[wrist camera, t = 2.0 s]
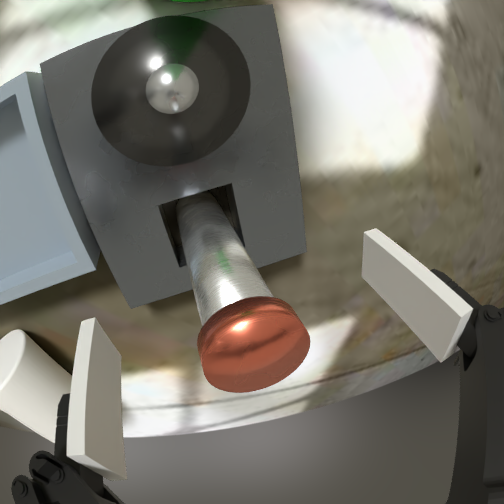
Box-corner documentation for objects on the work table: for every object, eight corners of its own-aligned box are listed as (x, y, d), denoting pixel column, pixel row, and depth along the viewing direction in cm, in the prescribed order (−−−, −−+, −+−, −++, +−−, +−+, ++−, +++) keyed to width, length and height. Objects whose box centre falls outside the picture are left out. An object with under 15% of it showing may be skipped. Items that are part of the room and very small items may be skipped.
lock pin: (179, 241, 23) (219, 403, 11) (163, 193, 20) (187, 343, 9) (228, 225, 23) (311, 369, 12) (217, 177, 21) (308, 302, 9)
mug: (32, 317, 21) (12, 385, 15) (95, 377, 27) (94, 440, 21) (-24, 351, 21) (-42, 407, 14) (32, 400, 26) (26, 453, 20)
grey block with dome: (131, 285, 23) (130, 343, 18) (55, 67, 13) (14, 59, 8) (290, 234, 25) (329, 277, 20) (256, 14, 16) (298, -12, 10)
